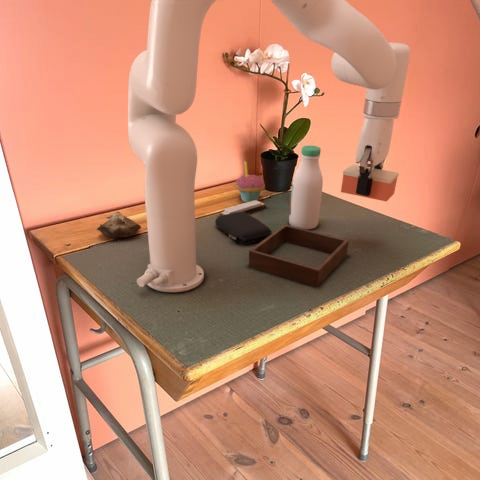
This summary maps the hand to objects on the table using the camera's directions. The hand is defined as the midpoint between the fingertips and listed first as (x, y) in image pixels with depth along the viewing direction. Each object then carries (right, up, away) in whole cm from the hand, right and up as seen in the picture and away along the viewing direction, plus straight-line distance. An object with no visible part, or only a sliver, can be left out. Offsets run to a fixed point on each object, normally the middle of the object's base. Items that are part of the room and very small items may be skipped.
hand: (367, 189), depth 116 cm
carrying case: (-30, -9, +10) cm, 33 cm away
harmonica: (-29, -1, +21) cm, 36 cm away
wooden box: (-16, -17, -2) cm, 24 cm away
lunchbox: (0, -1, 0) cm, 1 cm away
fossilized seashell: (-60, -10, +7) cm, 61 cm away
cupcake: (-27, +5, +30) cm, 41 cm away
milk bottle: (-13, -5, +15) cm, 21 cm away
